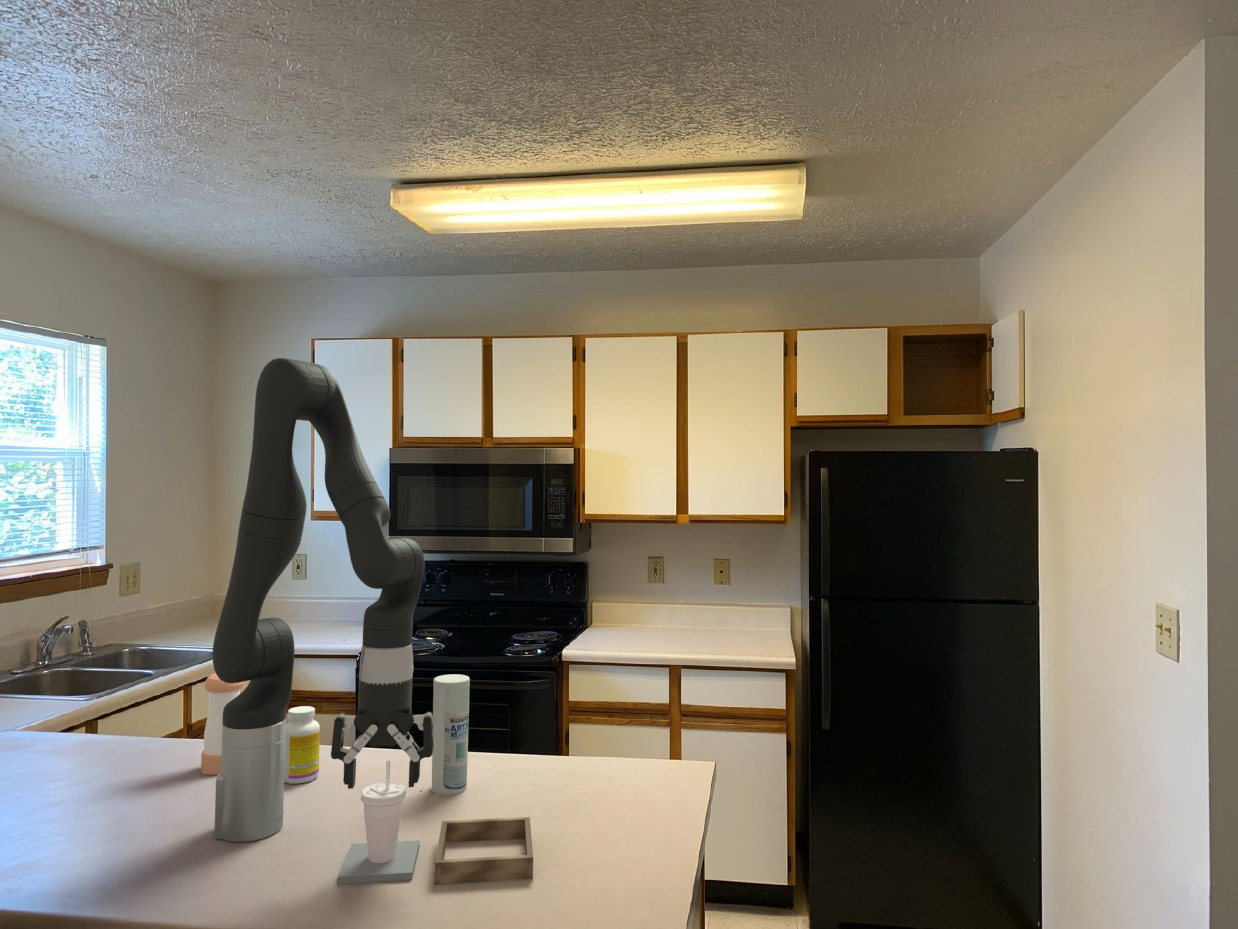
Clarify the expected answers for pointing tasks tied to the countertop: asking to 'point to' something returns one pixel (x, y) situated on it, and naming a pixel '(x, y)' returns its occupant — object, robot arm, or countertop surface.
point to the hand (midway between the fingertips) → (381, 786)
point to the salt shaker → (216, 721)
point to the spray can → (450, 733)
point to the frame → (486, 866)
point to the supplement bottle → (301, 746)
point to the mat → (379, 864)
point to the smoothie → (383, 817)
